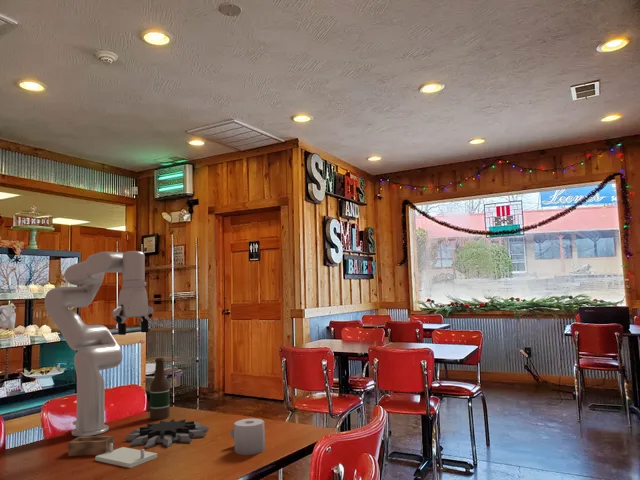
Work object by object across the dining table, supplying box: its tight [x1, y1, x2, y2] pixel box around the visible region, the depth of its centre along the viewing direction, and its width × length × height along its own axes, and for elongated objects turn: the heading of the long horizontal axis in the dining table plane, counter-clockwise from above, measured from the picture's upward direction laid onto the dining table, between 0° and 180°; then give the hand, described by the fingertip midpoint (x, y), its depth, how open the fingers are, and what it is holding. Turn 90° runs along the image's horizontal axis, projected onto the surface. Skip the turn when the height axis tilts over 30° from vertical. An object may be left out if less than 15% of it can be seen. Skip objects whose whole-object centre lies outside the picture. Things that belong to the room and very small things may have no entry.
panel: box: [95, 443, 158, 469], centre depth 153 cm, size 16×10×4 cm, turn 60°
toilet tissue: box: [228, 418, 266, 456], centre depth 158 cm, size 9×13×9 cm
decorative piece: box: [123, 418, 211, 449], centre depth 176 cm, size 30×4×30 cm
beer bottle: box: [149, 357, 171, 421], centre depth 205 cm, size 8×8×24 cm
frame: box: [67, 435, 115, 457], centre depth 162 cm, size 12×6×4 cm, turn 90°
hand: (133, 333), depth 177 cm, fingers open, 9 cm apart
